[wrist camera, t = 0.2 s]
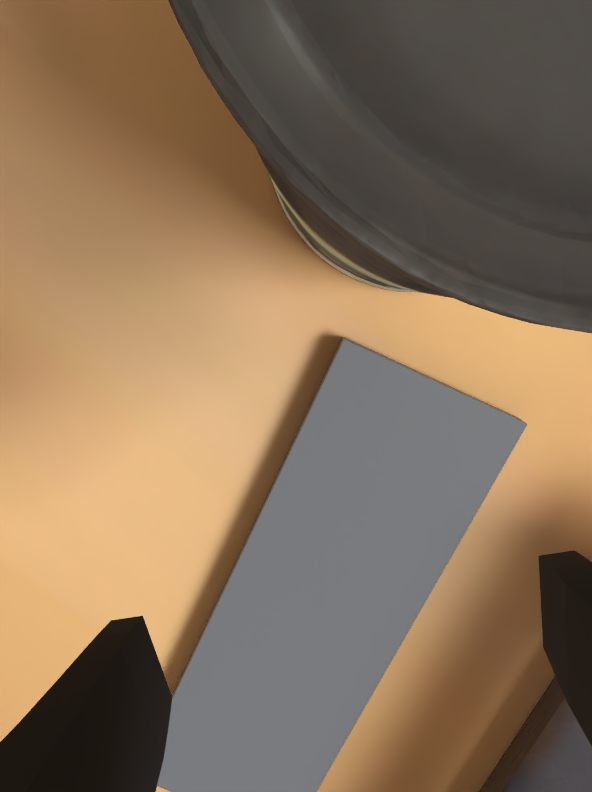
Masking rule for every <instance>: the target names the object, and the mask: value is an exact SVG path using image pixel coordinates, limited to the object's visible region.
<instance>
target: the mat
mask: <svg viewBox="0 0 592 792" xmlns="http://www.w3.org/2000/svg"><path fill="white" fill-rule="evenodd" d="M526 426H527V424H526V423H525V422H523V421H522V420H521V419H519V418H517V417H515V416H513V415H511V414H508V413H506V412H504V411H502V410H500V409H498V408H495V407H493V406H491V405H489V404H487V403H485V402H483V401H480V400H478V399H476V398H474V397H472V396H470V395H467V394H465V393H463V392H461V391H459V390H457V389H454V388H452V387H450V386H448V385H446V384H444V383H442V382H439V381H437V380H435V379H433V378H431V377H429V376H426V375H424V374H422V373H420V372H418V371H416V370H413V369H411V368H409V367H407V366H405V365H403V364H401V363H398V362H396V361H394V360H392V359H390V358H388V357H385V356H383V355H381V354H379V353H377V352H375V351H372V350H370V349H368V348H366V347H364V346H362V345H360V344H357V343H355V342H353V341H351V340H349V339H347V338H344V337H343V338H342V340H341V342H340V344H339V346H338V348H337V351H336V353H335V355H334V357H333V359H332V361H331V363H330V365H329V367H328V369H327V372H326V374H325V376H324V378H323V380H322V382H321V384H320V386H319V388H318V390H317V393H316V395H315V397H314V399H313V401H312V403H311V405H310V407H309V409H308V411H307V414H306V416H305V418H304V420H303V422H302V424H301V426H300V428H299V430H298V432H297V435H296V437H295V439H294V441H293V443H292V445H291V447H290V449H289V451H288V453H287V456H286V458H285V460H284V462H283V464H282V466H281V468H280V470H279V472H278V474H277V477H276V479H275V481H274V483H273V485H272V487H271V489H270V491H269V493H268V495H267V498H266V500H265V502H264V504H263V506H262V508H261V510H260V512H259V514H258V516H257V519H256V521H255V523H254V525H253V527H252V529H251V531H250V533H249V535H248V537H247V540H246V542H245V544H244V546H243V548H242V550H241V552H240V554H239V556H238V558H237V561H236V563H235V565H234V567H233V569H232V571H231V573H230V575H229V577H228V579H227V582H226V584H225V586H224V588H223V590H222V592H221V594H220V596H219V598H218V600H217V603H216V605H215V607H214V609H213V611H212V613H211V615H210V617H209V619H208V621H207V624H206V626H205V628H204V630H203V632H202V634H201V636H200V638H199V640H198V642H197V645H196V647H195V649H194V651H193V653H192V655H191V657H190V659H189V661H188V663H187V666H186V668H185V670H184V672H183V674H182V676H181V678H180V680H179V682H178V684H177V687H176V689H175V691H174V693H173V695H172V704H171V712H170V720H169V727H168V734H167V741H166V747H165V753H164V759H163V763H162V767H161V772H160V776H159V779H158V783H157V786H159V787H161V788H164V789H166V790H169V791H171V792H317V790H318V788H319V786H320V785H321V783H322V781H323V779H324V778H325V776H326V774H327V772H328V771H329V769H330V767H331V765H332V764H333V762H334V760H335V758H336V757H337V755H338V753H339V752H340V750H341V748H342V746H343V745H344V743H345V741H346V739H347V738H348V736H349V734H350V732H351V731H352V729H353V727H354V725H355V724H356V722H357V720H358V718H359V717H360V715H361V713H362V711H363V710H364V708H365V706H366V704H367V703H368V701H369V699H370V698H371V696H372V694H373V692H374V691H375V689H376V687H377V685H378V684H379V682H380V680H381V678H382V677H383V675H384V673H385V671H386V670H387V668H388V666H389V664H390V663H391V661H392V659H393V657H394V656H395V654H396V652H397V650H398V649H399V647H400V645H401V644H402V642H403V640H404V638H405V637H406V635H407V633H408V631H409V630H410V628H411V626H412V624H413V623H414V621H415V619H416V617H417V616H418V614H419V612H420V610H421V609H422V607H423V605H424V603H425V602H426V600H427V598H428V596H429V595H430V593H431V591H432V590H433V588H434V586H435V584H436V583H437V581H438V579H439V577H440V576H441V574H442V572H443V570H444V569H445V567H446V565H447V563H448V562H449V560H450V558H451V556H452V555H453V553H454V551H455V549H456V548H457V546H458V544H459V542H460V541H461V539H462V537H463V536H464V534H465V532H466V530H467V529H468V527H469V525H470V523H471V522H472V520H473V518H474V516H475V515H476V513H477V511H478V509H479V508H480V506H481V504H482V502H483V501H484V499H485V497H486V495H487V494H488V492H489V490H490V488H491V487H492V485H493V483H494V482H495V480H496V478H497V476H498V475H499V473H500V471H501V469H502V468H503V466H504V464H505V462H506V461H507V459H508V457H509V455H510V454H511V452H512V450H513V448H514V447H515V445H516V443H517V441H518V440H519V438H520V436H521V434H522V433H523V431H524V429H525V428H526Z"/></svg>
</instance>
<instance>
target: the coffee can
mask: <svg viewBox="0 0 592 792" xmlns="http://www.w3.org/2000/svg"><path fill="white" fill-rule="evenodd" d="M169 3H170V5H171V7H172V9H173V12H174V14H175V16H176V18H177V21H178V23H179V25H180V27H181V29H182V30H183V32H184V34H185V36H186V38H187V40H188V42H189V43H190V45H191V47H192V49H193V51H194V53H195V55H196V57H197V59H198V62H199V64H200V66H201V68H202V69H203V71H204V72H205V74H206V75H207V77H208V79H209V80H210V82H211V83H212V85H213V86H214V88H215V89H216V91H217V93H218V94H219V96H220V97H221V99H222V100H223V102H224V103H225V105H226V106H227V108H228V109H229V111H230V112H231V114H232V115H233V117H234V118H235V120H236V121H237V122H238V124H239V125H240V126H241V127H242V129H243V130H244V131H245V133H246V134H247V135H248V137H249V138H250V139H251V141H252V142H253V143H254V145H255V146H256V148H257V150H258V153H259V155H260V157H261V159H262V161H263V163H264V165H265V167H266V169H267V171H268V174H269V176H270V178H271V181H272V183H273V186H274V189H275V191H276V194H277V196H278V199H279V202H280V204H281V206H282V208H283V210H284V212H285V214H286V216H287V218H288V219H289V221H290V223H291V224H292V226H293V227H294V228H295V230H296V231H297V233H298V234H299V235H300V236H301V238H302V239H303V240H304V241H305V242H306V244H307V245H308V246H309V247H310V248H311V249H312V250H313V251H314V252H315V253H316V254H317V255H318V256H319V257H321V258H322V259H323V260H325V261H326V262H327V263H328V264H330V265H331V266H333V267H334V268H336V269H337V270H339V271H341V272H342V273H344V274H346V275H347V276H350V277H352V278H354V279H356V280H358V281H361V282H364V283H366V284H369V285H372V286H376V287H379V288H382V289H387V290H394V291H403V292H421V293H426V294H432V295H438V296H444V297H450V298H455V299H457V300H460V301H462V302H465V303H467V304H470V305H473V306H476V307H479V308H482V309H485V310H488V311H491V312H494V313H497V314H500V315H503V316H507V317H510V318H514V319H518V320H521V321H525V322H529V323H534V324H539V325H545V326H551V327H557V328H563V329H569V330H575V331H581V332H587V333H592V0H169Z"/></svg>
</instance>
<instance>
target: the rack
mask: <svg viewBox="0 0 592 792" xmlns="http://www.w3.org/2000/svg"><path fill="white" fill-rule="evenodd" d="M480 792H592V746H591V744H590V743H589V741H588V739H587V737H586V736H585V734H584V732H583V730H582V728H581V727H580V725H579V723H578V721H577V719H576V718H575V716H574V714H573V712H572V710H571V709H570V707H569V705H568V703H567V700H566V698H565V696H564V694H563V691H562V689H561V687H560V685H559V682H558V680H557V678H556V677H555V678H554V680H553V681H552V683H551V684H550V686H549V687H548V689H547V690H546V692H545V693H544V695H543V696H542V698H541V699H540V701H539V703H538V704H537V706H536V707H535V709H534V710H533V712H532V713H531V715H530V716H529V718H528V719H527V721H526V722H525V724H524V725H523V727H522V728H521V730H520V731H519V733H518V734H517V736H516V737H515V739H514V740H513V742H512V744H511V745H510V747H509V748H508V750H507V751H506V753H505V754H504V756H503V757H502V759H501V760H500V762H499V763H498V765H497V766H496V768H495V769H494V771H493V772H492V774H491V775H490V777H489V778H488V780H487V782H486V783H485V785H484V786H483V788H482V789H481V791H480Z"/></svg>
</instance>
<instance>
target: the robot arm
mask: <svg viewBox="0 0 592 792" xmlns="http://www.w3.org/2000/svg"><path fill="white" fill-rule="evenodd" d="M539 571H540V590H541V610H542V629H543V647H544V649H545V652H546V654H547V656H548V659H549V661H550V664H551V666H552V668H553V671H554V673H555V675H556V678H557V680H558V682H559V685H560V687H561V689H562V691H563V694H564V696H565V698H566V700H567V703H568V705H569V707H570V709H571V710H572V712H573V714H574V716H575V718H576V719H577V721H578V723H579V725H580V727H581V728H582V730H583V732H584V734H585V736H586V737H587V739H588V741H589V743H590V744H591V746H592V562H590V561H589V560H588V559H586V558H585V557H583V556H582V555H580V554H579V553H577V552H576V551H569V552H562V553H555V554H549V555H542V556H539ZM171 704H172V696H171V693H170V690H169V688H168V685H167V682H166V679H165V677H164V674H163V671H162V668H161V665H160V663H159V660H158V657H157V654H156V652H155V649H154V646H153V643H152V641H151V638H150V635H149V632H148V630H147V627H146V624H145V621H144V618H143V616H139V617H132V618H125V619H119V620H112V621H110V622H109V623H108V624H107V626H106V627H105V628H104V629H103V630H102V631H101V632H100V633H99V634H98V635H97V636H96V637H95V638H94V640H93V641H92V642H91V643H90V644H89V645H88V646H87V647H86V648H85V650H84V651H83V652H82V653H81V654H80V655H79V656H78V658H77V659H76V660H75V661H74V662H73V663H72V664H71V665H70V667H69V668H68V669H67V670H66V671H65V672H64V673H63V675H62V676H61V677H60V678H59V679H58V680H57V681H56V682H55V684H54V685H53V686H52V687H51V688H50V689H49V690H48V691H47V692H46V694H45V695H44V696H43V697H42V698H41V699H40V700H39V701H38V702H37V704H36V705H35V706H34V707H33V708H32V709H31V710H30V711H29V712H28V714H27V715H26V716H25V717H24V718H23V719H22V720H21V721H20V722H19V723H18V724H17V725H16V727H15V728H14V729H13V730H12V731H11V732H10V733H9V734H8V735H7V736H6V737H5V738H4V739H3V740H2V741H1V742H0V792H155V791H156V787H157V783H158V779H159V776H160V772H161V767H162V763H163V759H164V753H165V747H166V741H167V734H168V727H169V720H170V712H171Z"/></svg>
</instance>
